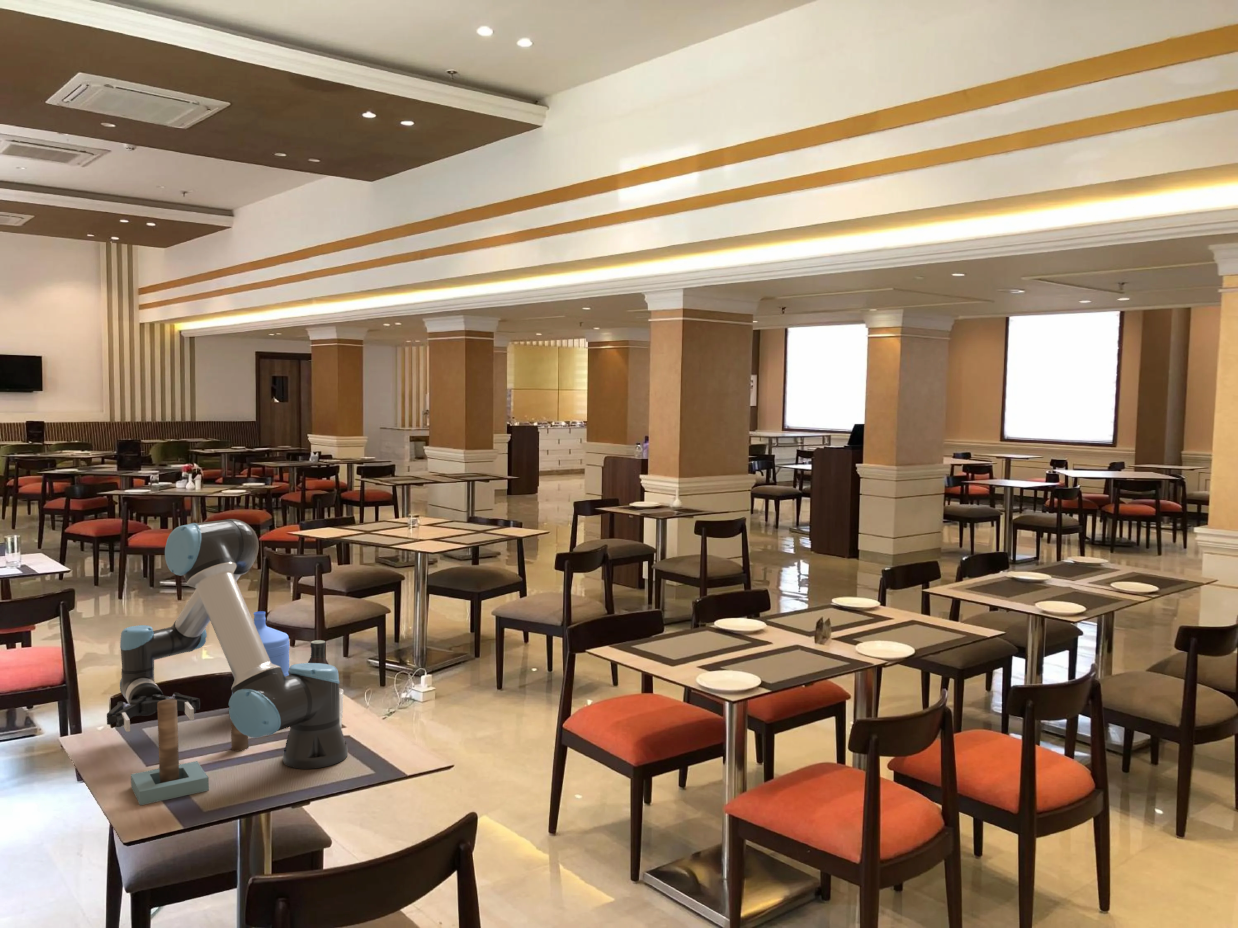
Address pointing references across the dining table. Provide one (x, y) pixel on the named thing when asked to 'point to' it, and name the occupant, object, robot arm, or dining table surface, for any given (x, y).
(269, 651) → the water jug
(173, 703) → the tall peg
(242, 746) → the short peg
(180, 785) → the hollow square block
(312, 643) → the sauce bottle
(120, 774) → the dining table surface
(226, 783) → the dining table surface
